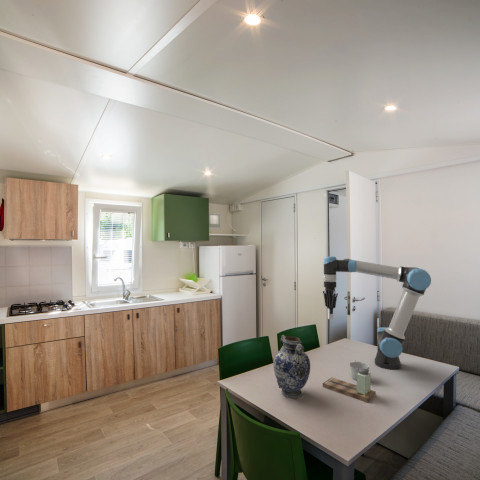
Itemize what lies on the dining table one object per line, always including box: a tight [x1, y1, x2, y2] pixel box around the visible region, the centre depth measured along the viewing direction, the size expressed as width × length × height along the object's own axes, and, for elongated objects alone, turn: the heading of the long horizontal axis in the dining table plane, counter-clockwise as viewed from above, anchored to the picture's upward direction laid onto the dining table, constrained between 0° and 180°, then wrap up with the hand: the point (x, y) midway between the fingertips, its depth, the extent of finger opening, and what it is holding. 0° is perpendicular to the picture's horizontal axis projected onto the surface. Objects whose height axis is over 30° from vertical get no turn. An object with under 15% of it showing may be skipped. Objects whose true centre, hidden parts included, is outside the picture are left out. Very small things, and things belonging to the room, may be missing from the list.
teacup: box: [348, 360, 370, 381], centre depth 179 cm, size 14×11×8 cm
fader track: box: [322, 377, 377, 403], centre depth 163 cm, size 24×10×2 cm, turn 46°
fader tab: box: [356, 368, 372, 395], centre depth 157 cm, size 4×7×11 cm, turn 136°
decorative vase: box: [273, 334, 311, 399], centre depth 161 cm, size 21×19×28 cm
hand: (330, 318), depth 197 cm, fingers closed
